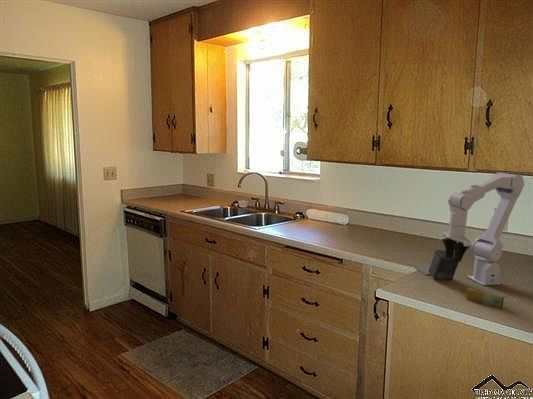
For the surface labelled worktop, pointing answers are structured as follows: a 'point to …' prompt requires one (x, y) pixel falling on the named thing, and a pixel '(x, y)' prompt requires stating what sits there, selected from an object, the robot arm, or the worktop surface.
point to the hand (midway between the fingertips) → (453, 259)
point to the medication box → (485, 298)
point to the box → (443, 266)
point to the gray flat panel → (423, 270)
